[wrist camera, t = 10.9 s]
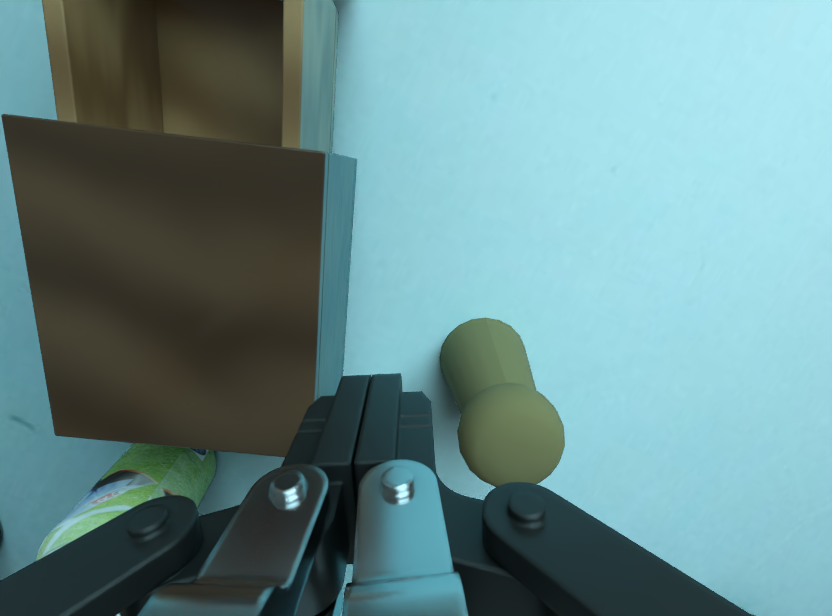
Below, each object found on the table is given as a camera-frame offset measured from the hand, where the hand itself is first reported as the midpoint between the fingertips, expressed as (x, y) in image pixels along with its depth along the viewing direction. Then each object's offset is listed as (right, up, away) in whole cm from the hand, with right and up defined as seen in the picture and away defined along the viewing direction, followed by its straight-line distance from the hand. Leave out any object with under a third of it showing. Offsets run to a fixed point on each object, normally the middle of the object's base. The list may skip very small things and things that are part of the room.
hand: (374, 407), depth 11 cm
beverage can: (-16, -8, +22) cm, 28 cm away
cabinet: (-10, +5, +17) cm, 20 cm away
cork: (+6, -1, +19) cm, 20 cm away
